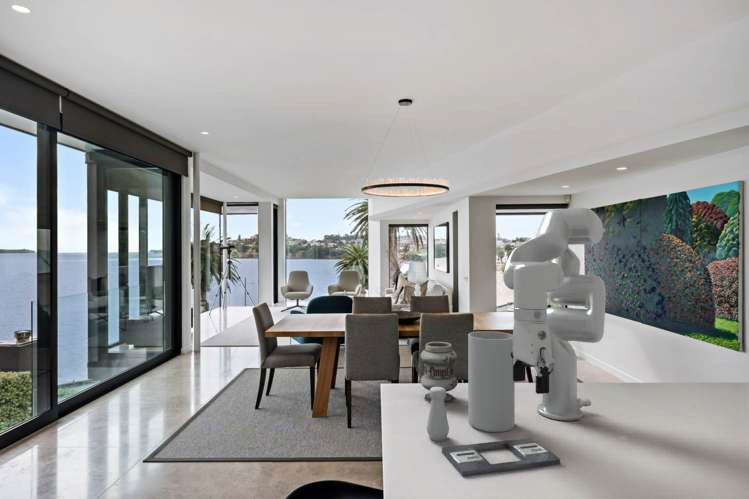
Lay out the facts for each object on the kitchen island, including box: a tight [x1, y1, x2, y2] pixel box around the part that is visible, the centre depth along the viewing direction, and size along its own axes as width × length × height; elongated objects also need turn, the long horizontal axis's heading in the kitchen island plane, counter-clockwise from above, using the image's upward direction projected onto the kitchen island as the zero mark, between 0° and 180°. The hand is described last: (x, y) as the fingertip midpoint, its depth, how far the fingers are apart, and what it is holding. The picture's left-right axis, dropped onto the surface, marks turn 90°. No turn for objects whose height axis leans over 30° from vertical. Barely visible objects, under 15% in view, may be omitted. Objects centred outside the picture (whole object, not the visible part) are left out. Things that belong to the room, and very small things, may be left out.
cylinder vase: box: [467, 330, 516, 434], centre depth 126 cm, size 12×12×25 cm
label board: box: [441, 437, 561, 478], centre depth 106 cm, size 24×12×2 cm, turn 103°
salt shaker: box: [426, 387, 450, 442], centre depth 117 cm, size 6×6×13 cm
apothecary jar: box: [420, 341, 459, 404], centre depth 148 cm, size 12×12×18 cm
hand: (530, 386), depth 108 cm, fingers open, 9 cm apart
